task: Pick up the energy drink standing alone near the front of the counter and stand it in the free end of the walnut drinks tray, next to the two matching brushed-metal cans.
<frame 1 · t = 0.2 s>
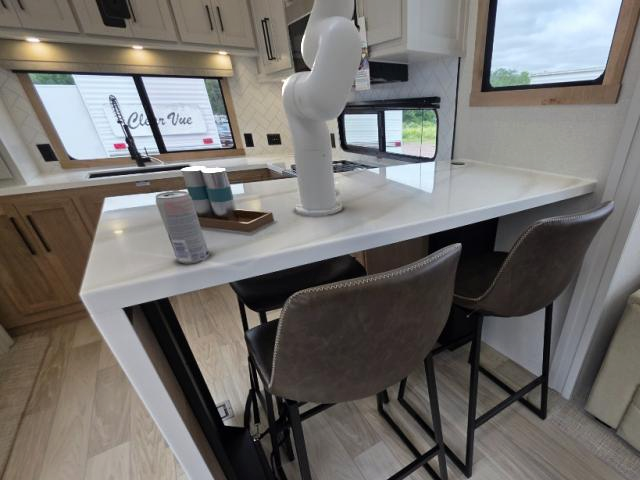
hand: (117, 22, 54), 37 cm above the table, tool pointing down, fingers open, 9 cm apart
can a: (208, 220, 81), resting on drinks tray
energy drink: (194, 259, 63), on the table
can b: (227, 222, 80), resting on drinks tray
drinks tray: (229, 224, 80), on the table
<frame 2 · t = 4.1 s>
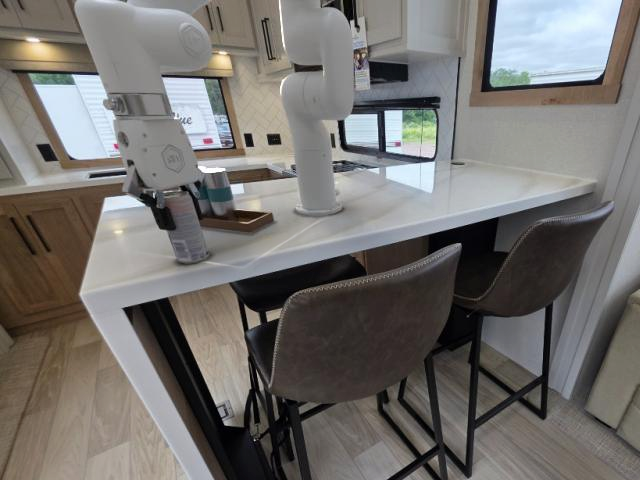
hand: (182, 223, 59), 7 cm above the table, tool pointing down, fingers closed on energy drink, 5 cm apart
energy drink: (194, 259, 63), on the table, touching gripper
everything else where it was.
when the fingers open (7 cm above the table, at t = 12.4 s): energy drink stays where it is, resting on drinks tray.
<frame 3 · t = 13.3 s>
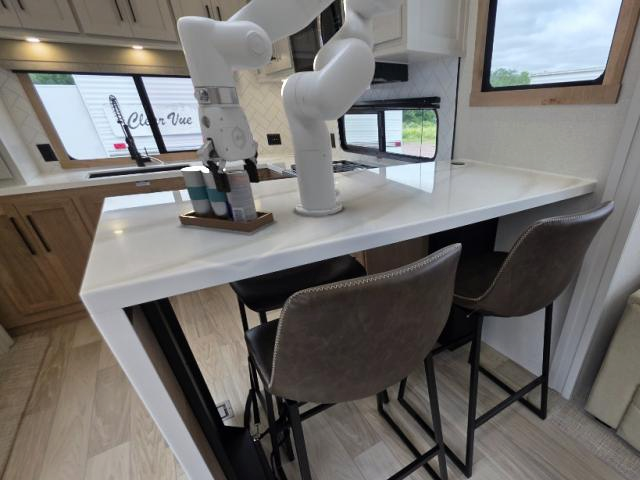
hand: (239, 187, 75), 9 cm above the table, tool pointing down, fingers open, 9 cm apart
energy drink: (247, 225, 79), resting on drinks tray
everything else where it was.
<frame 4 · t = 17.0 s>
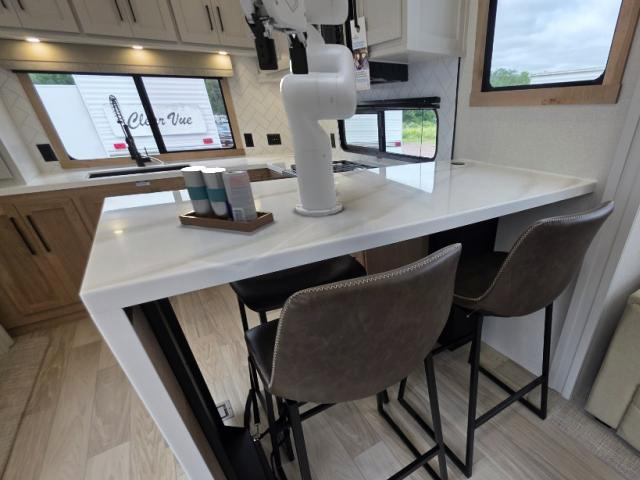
hand: (285, 72, 58), 30 cm above the table, tool pointing down, fingers open, 9 cm apart
nothing on the table moved.
at the end: energy drink 0.2 cm from the target spot in the drinks tray, point 0.3 cm above the drinks tray's base; energy drink tilted 0°; can b moved 0.0 cm from its start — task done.
